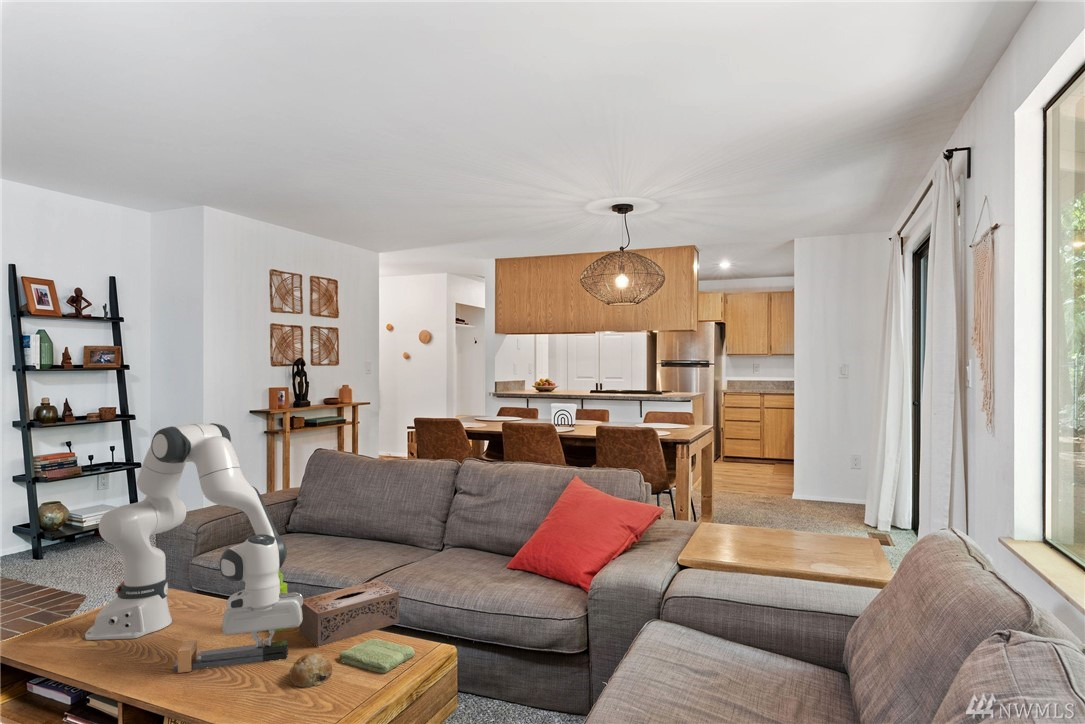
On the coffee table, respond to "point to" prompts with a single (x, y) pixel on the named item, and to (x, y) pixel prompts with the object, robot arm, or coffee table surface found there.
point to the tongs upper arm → (241, 651)
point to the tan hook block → (186, 655)
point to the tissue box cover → (349, 612)
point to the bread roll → (310, 670)
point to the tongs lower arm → (236, 660)
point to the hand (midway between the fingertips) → (263, 645)
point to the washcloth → (377, 655)
